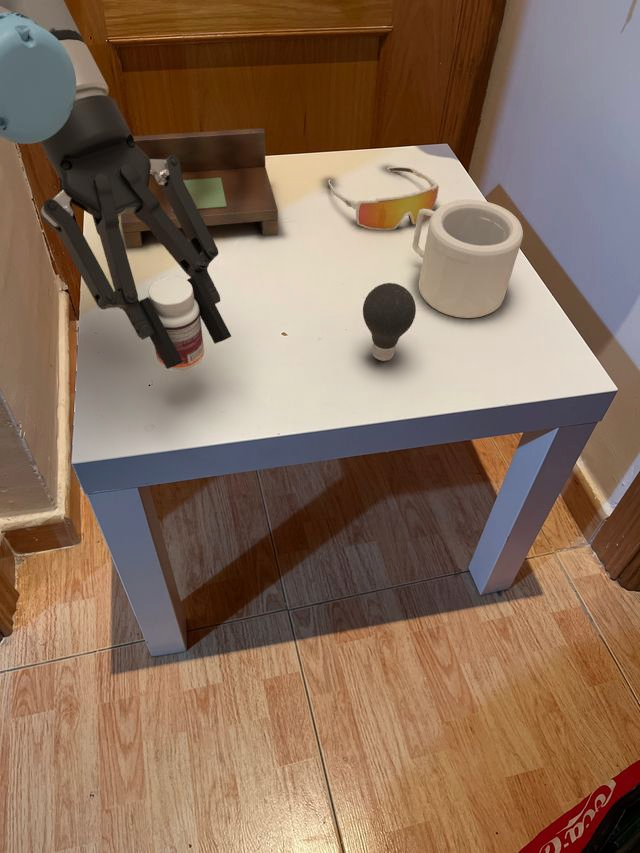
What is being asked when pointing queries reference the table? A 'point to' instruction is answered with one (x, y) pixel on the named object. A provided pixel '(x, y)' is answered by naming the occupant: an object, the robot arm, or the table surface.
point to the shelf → (213, 179)
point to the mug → (467, 256)
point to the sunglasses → (393, 205)
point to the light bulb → (388, 317)
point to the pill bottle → (179, 319)
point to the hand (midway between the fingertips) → (199, 352)
